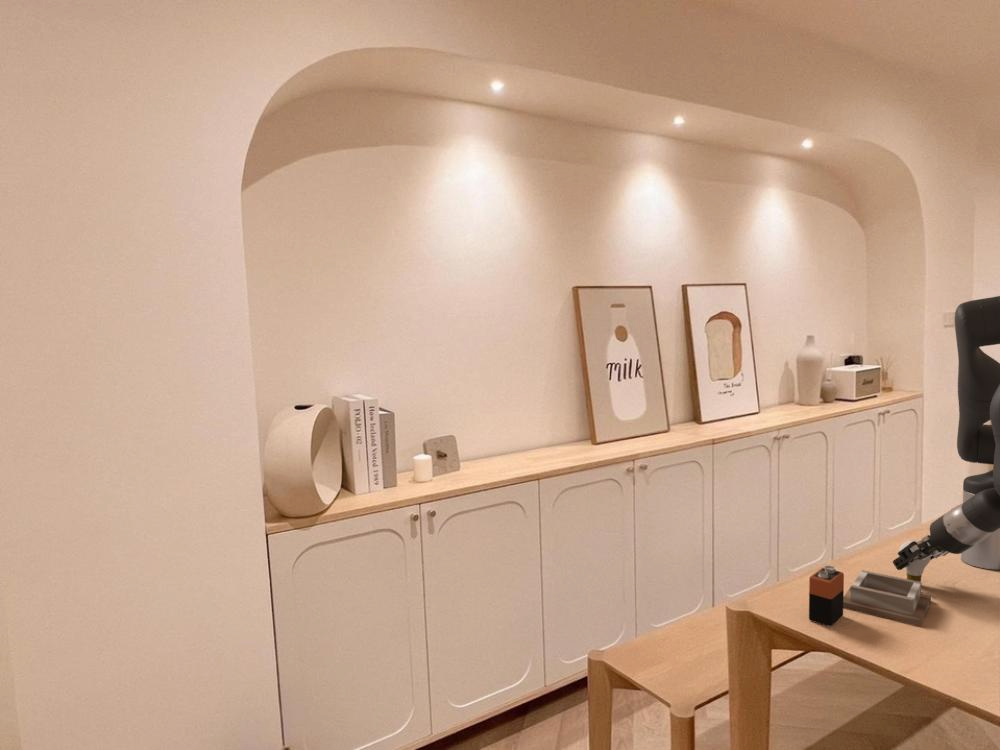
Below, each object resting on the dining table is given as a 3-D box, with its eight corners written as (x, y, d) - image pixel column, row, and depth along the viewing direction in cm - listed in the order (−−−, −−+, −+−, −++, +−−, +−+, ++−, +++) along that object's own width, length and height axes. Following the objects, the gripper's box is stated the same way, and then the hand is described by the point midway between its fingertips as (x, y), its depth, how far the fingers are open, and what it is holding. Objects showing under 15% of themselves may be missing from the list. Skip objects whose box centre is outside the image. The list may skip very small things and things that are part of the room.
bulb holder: (855, 584, 143) (856, 566, 143) (930, 600, 134) (931, 581, 133) (840, 606, 132) (840, 587, 132) (920, 626, 123) (921, 605, 123)
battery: (844, 616, 128) (844, 567, 128) (831, 627, 124) (831, 577, 123) (821, 609, 132) (821, 562, 131) (807, 620, 127) (808, 571, 126)
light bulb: (919, 592, 138) (921, 547, 137) (892, 583, 143) (893, 539, 142) (935, 586, 140) (936, 542, 140) (908, 577, 146) (909, 534, 145)
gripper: (973, 507, 135) (919, 543, 148) (924, 515, 131) (872, 553, 143) (999, 539, 131) (941, 574, 143) (949, 549, 126) (893, 585, 138)
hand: (907, 563), depth 143 cm, fingers closed on light bulb, 6 cm apart
